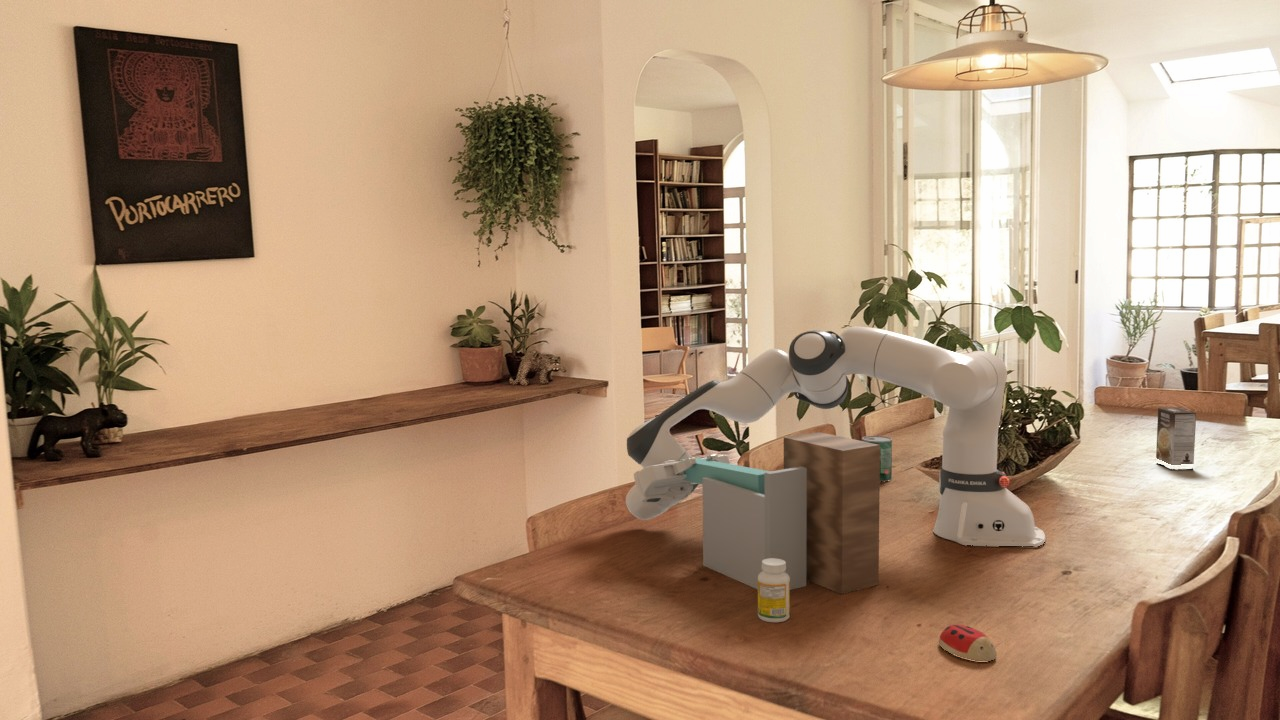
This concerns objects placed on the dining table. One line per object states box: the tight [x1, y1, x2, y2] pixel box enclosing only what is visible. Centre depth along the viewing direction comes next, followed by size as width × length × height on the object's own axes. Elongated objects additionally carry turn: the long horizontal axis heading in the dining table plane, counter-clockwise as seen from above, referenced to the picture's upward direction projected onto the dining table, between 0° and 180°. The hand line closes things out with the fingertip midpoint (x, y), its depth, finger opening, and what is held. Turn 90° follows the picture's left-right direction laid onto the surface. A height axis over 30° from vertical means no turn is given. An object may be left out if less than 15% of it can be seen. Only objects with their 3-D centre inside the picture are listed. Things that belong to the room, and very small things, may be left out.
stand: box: [783, 431, 881, 595], centre depth 184 cm, size 16×9×26 cm, turn 32°
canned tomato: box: [861, 435, 893, 483], centre depth 265 cm, size 8×8×11 cm
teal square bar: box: [679, 457, 771, 495], centre depth 193 cm, size 26×4×4 cm, turn 32°
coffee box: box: [1155, 406, 1197, 465], centre depth 273 cm, size 9×6×16 cm
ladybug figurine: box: [938, 624, 997, 662], centre depth 150 cm, size 7×10×4 cm
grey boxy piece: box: [702, 467, 807, 591], centre depth 186 cm, size 20×8×22 cm, turn 32°
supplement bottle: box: [757, 558, 791, 623], centre depth 165 cm, size 5×5×10 cm
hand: (703, 459), depth 199 cm, fingers closed on teal square bar, 4 cm apart
